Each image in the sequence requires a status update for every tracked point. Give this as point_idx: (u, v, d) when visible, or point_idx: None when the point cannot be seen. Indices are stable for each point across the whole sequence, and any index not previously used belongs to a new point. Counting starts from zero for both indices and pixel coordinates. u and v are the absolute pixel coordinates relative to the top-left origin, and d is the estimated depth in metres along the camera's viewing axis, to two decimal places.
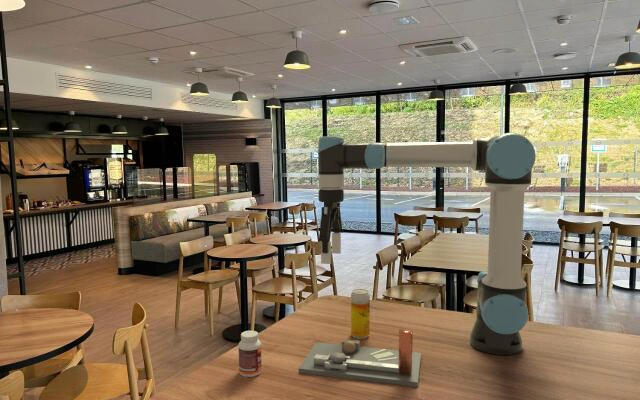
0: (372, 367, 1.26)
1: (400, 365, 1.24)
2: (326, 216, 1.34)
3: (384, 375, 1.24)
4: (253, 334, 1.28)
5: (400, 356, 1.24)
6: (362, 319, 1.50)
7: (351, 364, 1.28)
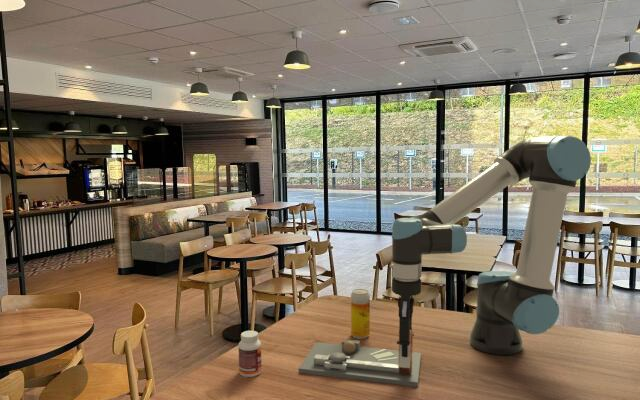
0: (372, 367, 1.26)
1: None
2: (405, 319, 1.18)
3: (384, 375, 1.24)
4: (253, 334, 1.28)
5: None
6: (362, 319, 1.50)
7: (351, 364, 1.28)
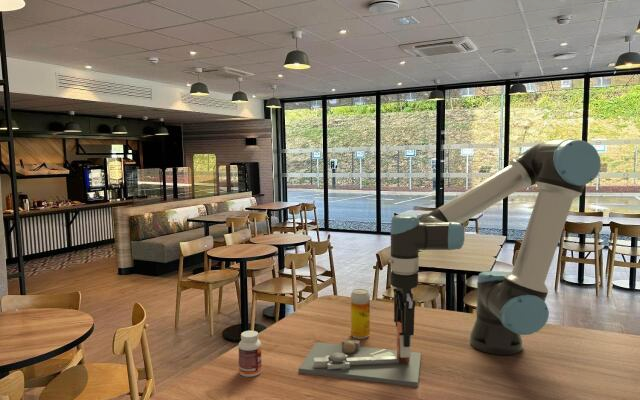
0: (373, 362, 1.30)
1: None
2: (411, 311, 1.24)
3: (384, 375, 1.24)
4: (253, 334, 1.28)
5: None
6: (362, 319, 1.50)
7: (352, 362, 1.29)
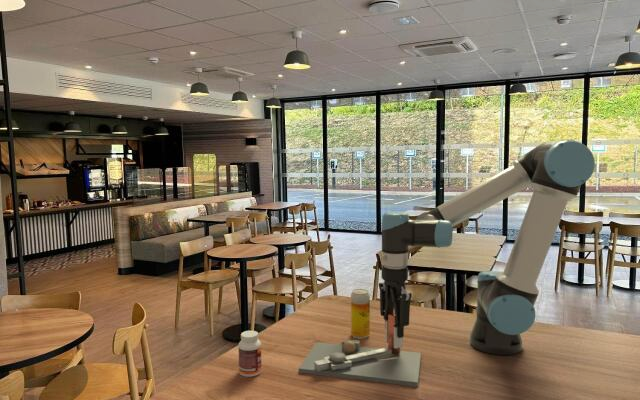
0: (370, 356, 1.33)
1: (393, 346, 1.36)
2: (407, 302, 1.31)
3: (384, 375, 1.24)
4: (253, 334, 1.28)
5: (393, 338, 1.35)
6: (362, 319, 1.50)
7: (352, 359, 1.31)
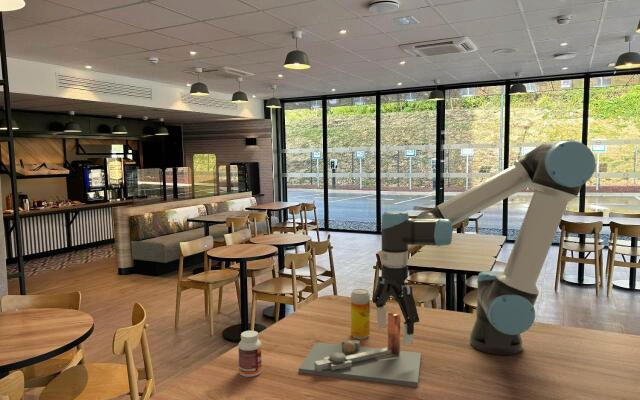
0: (370, 356, 1.33)
1: (393, 346, 1.36)
2: (410, 296, 1.29)
3: (384, 375, 1.24)
4: (253, 334, 1.28)
5: (393, 338, 1.35)
6: (362, 319, 1.50)
7: (352, 359, 1.31)
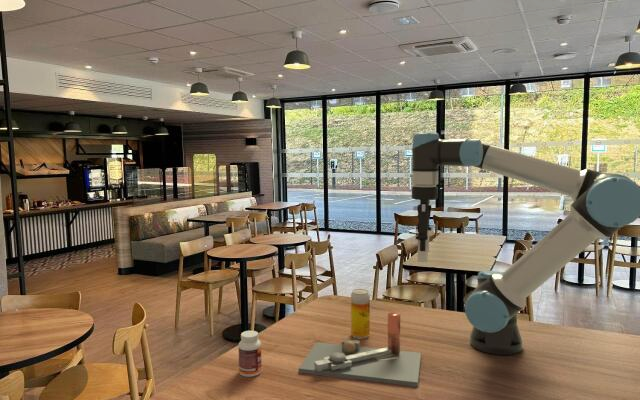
0: (370, 356, 1.33)
1: (393, 346, 1.36)
2: (424, 214, 1.32)
3: (384, 375, 1.24)
4: (253, 334, 1.28)
5: (393, 338, 1.35)
6: (362, 319, 1.50)
7: (352, 359, 1.31)
